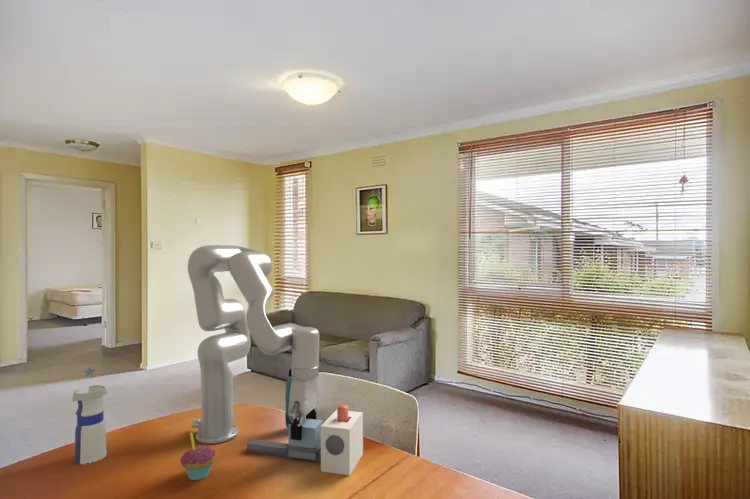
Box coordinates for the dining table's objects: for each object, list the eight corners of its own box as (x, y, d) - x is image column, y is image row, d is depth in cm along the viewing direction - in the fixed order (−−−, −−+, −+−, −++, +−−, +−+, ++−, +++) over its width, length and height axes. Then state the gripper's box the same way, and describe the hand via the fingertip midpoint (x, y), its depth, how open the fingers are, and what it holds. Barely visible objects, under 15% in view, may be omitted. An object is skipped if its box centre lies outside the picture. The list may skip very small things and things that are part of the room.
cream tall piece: (64, 461, 119) (64, 371, 119) (96, 448, 126) (96, 363, 126) (81, 468, 115) (81, 375, 115) (113, 454, 123) (113, 367, 123)
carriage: (288, 456, 119) (288, 425, 119) (297, 447, 125) (297, 417, 125) (315, 460, 117) (315, 428, 117) (322, 450, 122) (322, 420, 122)
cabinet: (320, 472, 113) (320, 426, 113) (336, 450, 125) (336, 409, 125) (349, 476, 111) (349, 429, 111) (362, 454, 123) (362, 412, 123)
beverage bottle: (307, 426, 142) (307, 366, 142) (302, 434, 135) (302, 371, 135) (288, 425, 143) (288, 365, 143) (282, 434, 136) (282, 371, 136)
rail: (246, 452, 124) (246, 443, 124) (252, 447, 127) (252, 439, 127) (327, 463, 118) (327, 454, 118) (331, 458, 120) (331, 449, 120)
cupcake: (181, 487, 106) (181, 438, 106) (179, 471, 113) (179, 426, 113) (218, 478, 110) (218, 432, 110) (214, 464, 117) (214, 420, 117)
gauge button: (335, 433, 117) (335, 407, 117) (339, 428, 120) (339, 403, 120) (346, 434, 116) (346, 408, 116) (349, 430, 119) (349, 404, 119)
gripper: (305, 362, 130) (304, 418, 130) (278, 379, 114) (277, 443, 114) (328, 365, 128) (327, 421, 128) (304, 382, 112) (303, 447, 112)
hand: (303, 432), depth 121 cm, fingers open, 9 cm apart
